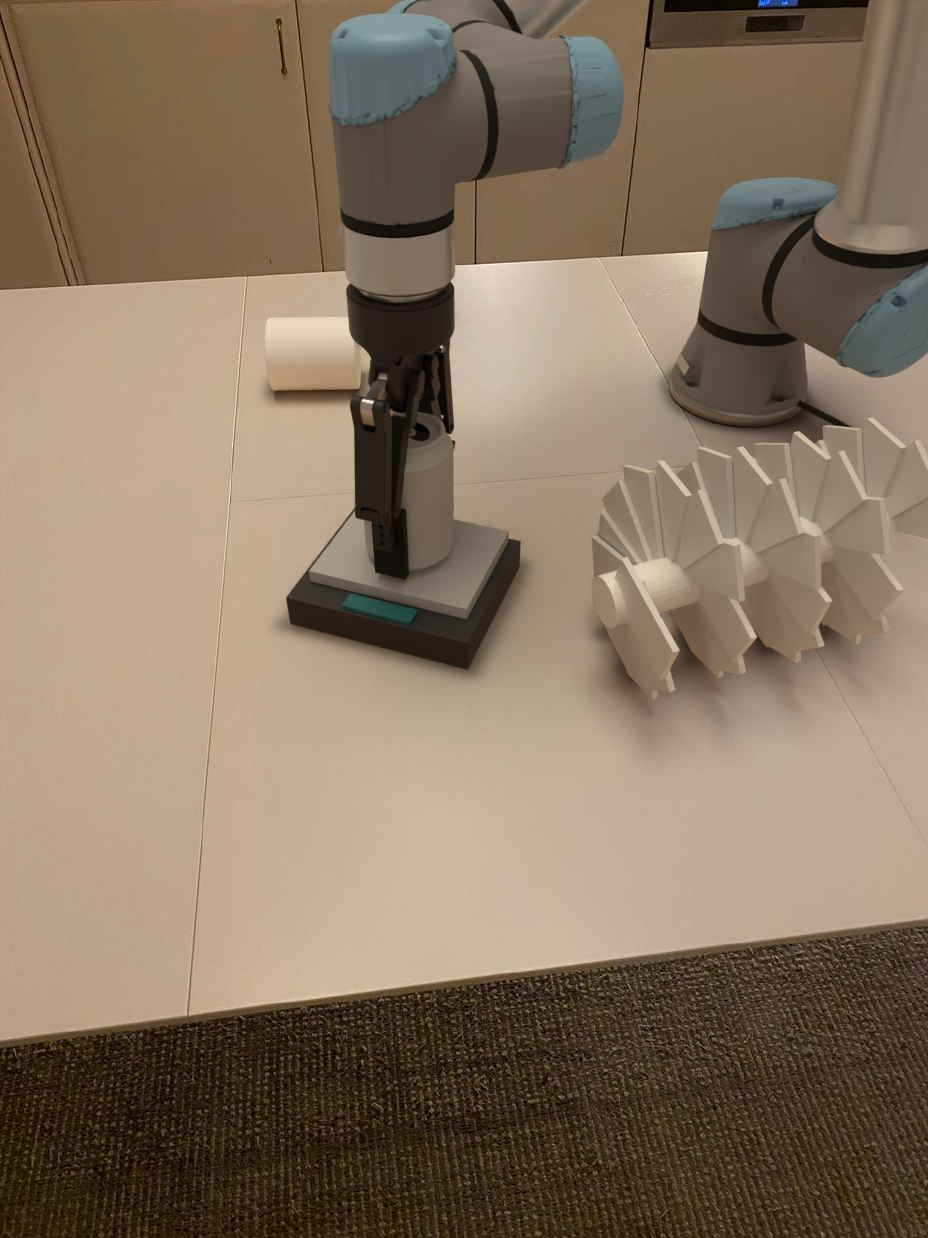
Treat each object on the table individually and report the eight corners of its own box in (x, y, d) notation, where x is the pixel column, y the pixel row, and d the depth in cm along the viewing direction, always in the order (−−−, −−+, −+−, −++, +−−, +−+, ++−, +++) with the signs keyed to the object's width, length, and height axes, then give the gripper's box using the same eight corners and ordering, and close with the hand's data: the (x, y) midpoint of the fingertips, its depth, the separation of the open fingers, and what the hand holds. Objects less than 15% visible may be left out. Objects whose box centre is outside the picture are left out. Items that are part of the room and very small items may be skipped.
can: (467, 565, 80) (468, 441, 72) (381, 586, 78) (373, 460, 70) (435, 516, 85) (433, 395, 77) (355, 534, 83) (344, 412, 75)
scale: (519, 567, 86) (521, 529, 83) (467, 670, 77) (468, 631, 74) (358, 530, 90) (355, 494, 87) (289, 624, 81) (283, 586, 78)
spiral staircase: (572, 673, 82) (817, 595, 88) (676, 751, 66) (969, 648, 71) (536, 465, 76) (801, 396, 82) (640, 494, 60) (962, 405, 66)
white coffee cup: (358, 401, 108) (353, 335, 103) (270, 403, 108) (261, 337, 103) (363, 353, 117) (359, 290, 112) (282, 354, 117) (273, 291, 112)
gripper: (406, 224, 74) (415, 473, 89) (281, 334, 59) (317, 609, 75) (498, 236, 72) (491, 489, 87) (392, 354, 58) (406, 631, 73)
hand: (411, 544), depth 81 cm, fingers closed on can, 7 cm apart
